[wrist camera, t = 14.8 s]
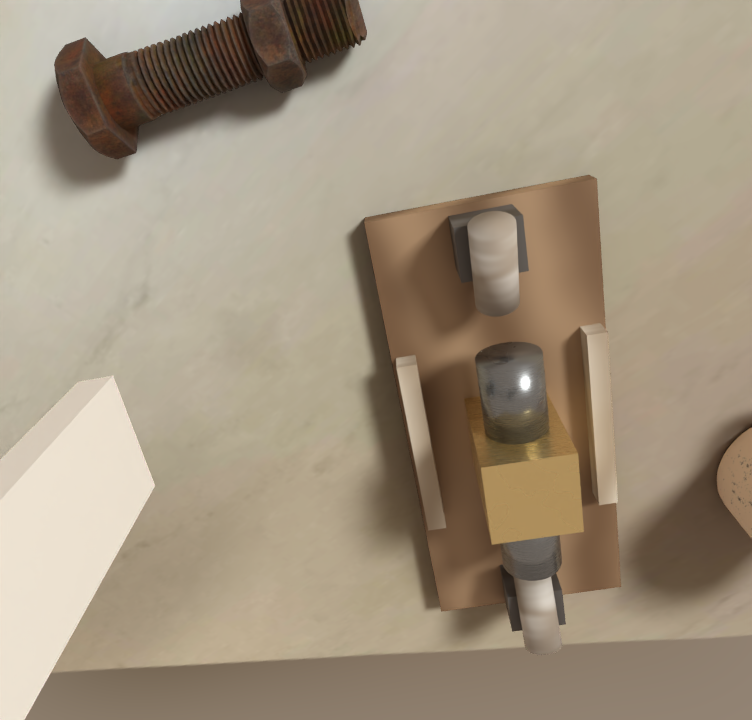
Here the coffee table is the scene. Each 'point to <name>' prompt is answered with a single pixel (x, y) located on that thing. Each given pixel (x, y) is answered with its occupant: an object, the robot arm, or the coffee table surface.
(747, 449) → the teacup with lid
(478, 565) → the coupling cradle
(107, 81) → the bolt
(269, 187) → the coffee table surface
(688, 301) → the coffee table surface
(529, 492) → the universal joint
